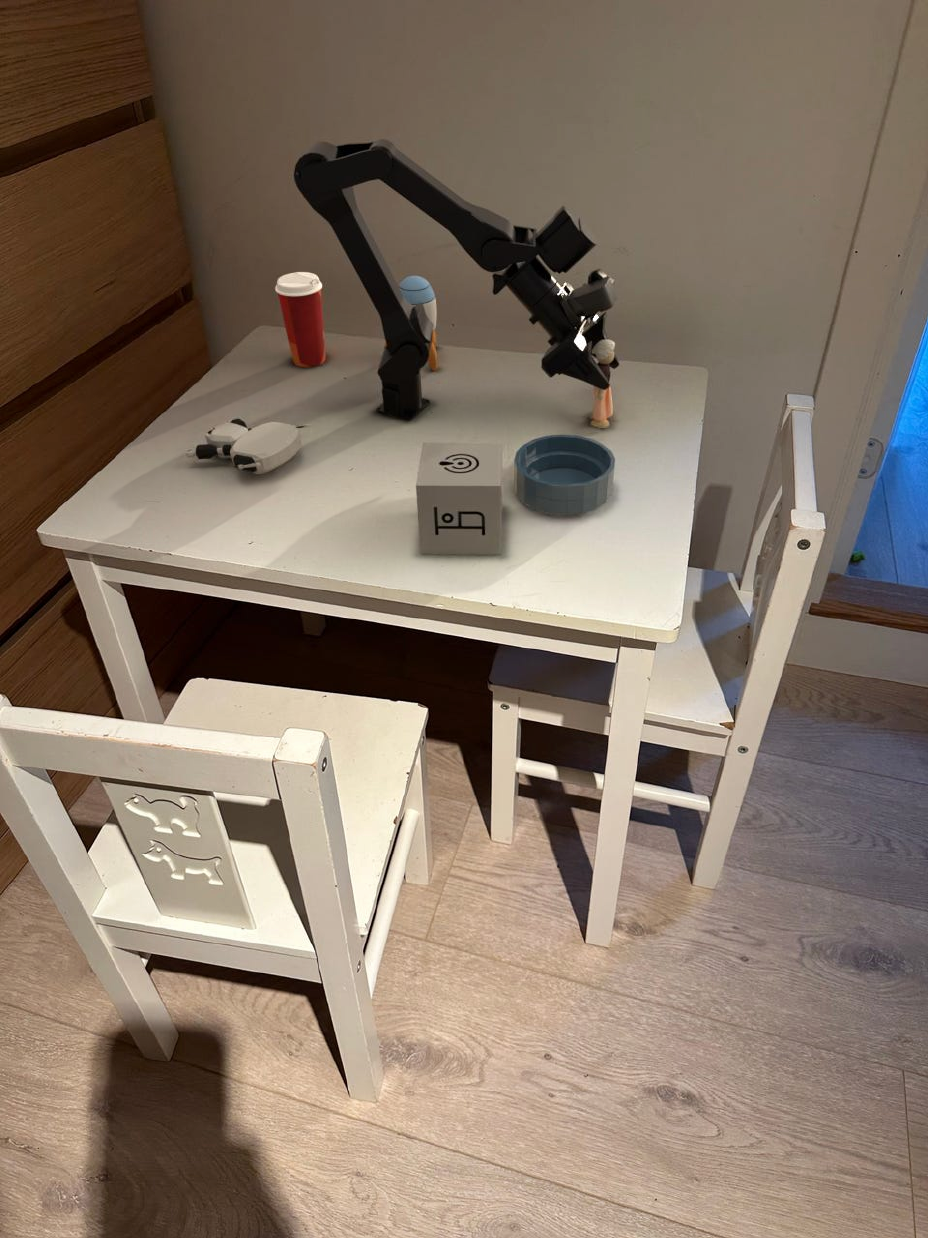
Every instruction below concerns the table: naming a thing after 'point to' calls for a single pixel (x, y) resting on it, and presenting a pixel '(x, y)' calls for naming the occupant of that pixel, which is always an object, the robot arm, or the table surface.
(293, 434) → the robot toy
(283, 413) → the table surface
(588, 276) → the robot arm
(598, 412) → the grandmother figurine
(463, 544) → the icon cube
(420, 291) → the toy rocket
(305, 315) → the paper cup
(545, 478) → the blue pet bowl
